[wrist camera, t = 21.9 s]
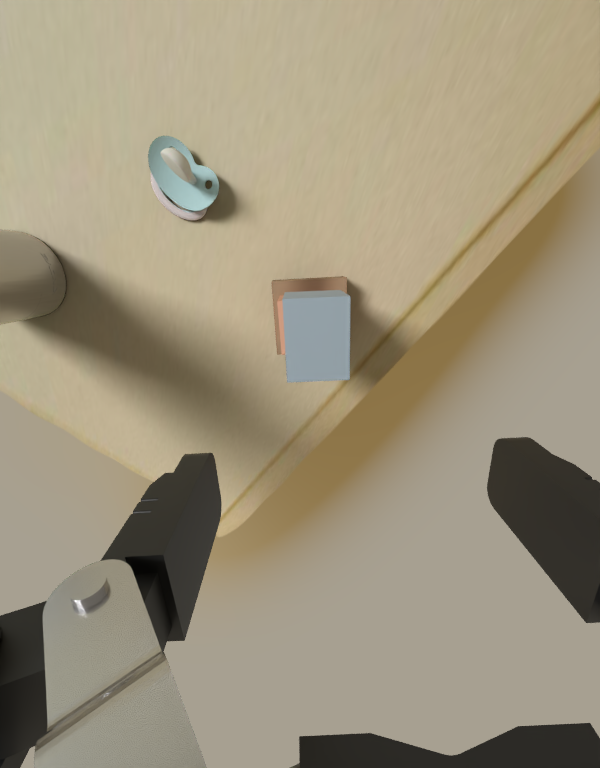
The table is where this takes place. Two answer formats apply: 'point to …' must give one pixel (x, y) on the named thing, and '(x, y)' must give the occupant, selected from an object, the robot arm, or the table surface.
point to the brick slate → (317, 335)
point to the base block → (299, 286)
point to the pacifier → (180, 179)
